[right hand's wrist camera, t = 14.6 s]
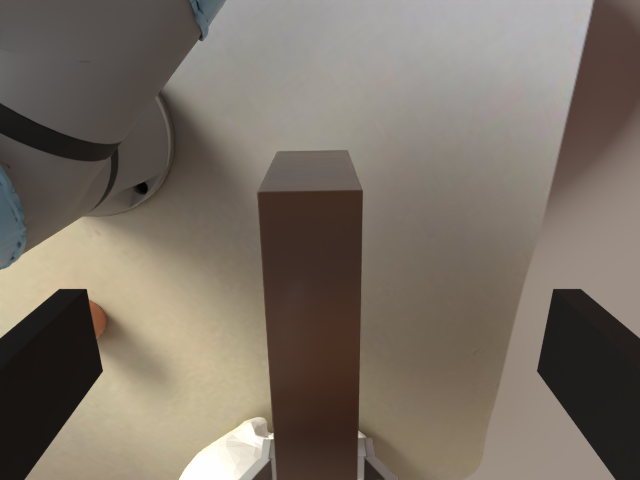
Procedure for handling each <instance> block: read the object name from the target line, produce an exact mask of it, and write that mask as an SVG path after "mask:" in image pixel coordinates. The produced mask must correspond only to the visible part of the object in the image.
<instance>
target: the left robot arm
mask: <svg viewBox="0 0 640 480" xmlns="http://www.w3.org/2000/svg"><path fill="white" fill-rule="evenodd" d="M358 479H361V480H399V479H398V478H397V477H396V476H395V475H394V474H393V473H392V472H391V471H390V470H389V469H388V467H387V466H386V465H385V464H384V463H383V462H382V461H381V460H380V459H379V458H378V457H375V452H374V445H373V439H372V437H370V438H358ZM239 480H276V467H275V452H274V439H264V440H263V444H262V450H261V457H260V459H258V460H257V461H256V462H255V463H254V464H253V465H252V466H251V467H250V468H249V469H248V470H247V471H246V472H245V473H244V474H243V475H242V476H241V478H240V479H239Z"/></svg>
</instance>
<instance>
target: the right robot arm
mask: <svg viewBox="0 0 640 480" xmlns="http://www.w3.org/2000/svg"><path fill="white" fill-rule="evenodd" d="M225 1H226V0H0V270H1V269H4V268H7V267H9V266H10V265H11V264H12V263H13V262H15V261H16V260H18V259H19V257H20V256H21V255H22V254H24V253H25V252H27V251H28V250H30V249H32V248H33V247H35V246H36V245H38V244H39V243H41V242H43V241H44V240H46V239H47V238H49V237H51V236H52V235H54V234H55V233H57V232H59V231H60V230H62V229H63V228H65V227H66V226H68V225H70V224H71V223H73V222H74V221H76V220H78V219H79V218H81V217H82V216H110V215H116V214H120V213H123V212H126V211H128V210H131V209H133V208H135V207H136V206H138V205H139V204H141V203H142V202H144V201H145V200H146V199H148V198H149V197H150V196H151V195H153V194H154V193H155V192H156V191H157V190H158V189H159V187H160V186H161V185H162V183H163V182H164V180H165V179H166V177H167V175H168V173H169V170H170V168H171V165H172V161H173V156H174V148H175V139H174V130H173V124H172V120H171V117H170V114H169V111H168V108H167V106H166V104H165V102H164V100H163V98H162V97H161V95H160V93H159V92H160V91H161V89H162V88H163V87H164V85H165V84H166V83H167V81H168V80H169V78H170V77H171V76H172V74H173V73H174V72H175V70H176V69H177V68H178V66H179V65H180V64H181V62H182V61H183V60H184V58H185V57H186V56H187V54H188V53H189V52H190V50H191V49H192V48H193V46H194V45H195V44H196V42H197V41H198V40H200V41H203V40H204V39H205V38H206V36H207V34H208V26H209V25H210V23H211V22H212V20H213V19H214V18H215V16H216V15H217V13H218V12H219V10H220V9H221V7H222V6H223V4H224V3H225ZM102 372H103V369H102V364H101V359H100V354H99V349H98V344H97V339H96V334H95V329H94V324H93V319H92V314H91V309H90V304H89V299H88V294H87V289H59V290H58V291H56V292H55V293H54V294H53V295H52V296H50V297H49V298H48V299H47V300H46V301H44V302H43V303H42V304H41V305H40V306H38V307H37V308H36V309H35V310H34V311H33V312H31V313H30V314H29V315H28V316H27V317H25V318H24V319H23V320H22V321H21V322H19V323H18V324H17V325H16V326H15V327H13V328H12V329H11V330H10V331H9V332H7V333H6V334H5V335H4V336H3V337H1V338H0V480H24V479H25V478H26V477H27V475H28V474H29V473H30V471H31V470H32V468H33V467H34V466H35V464H36V463H37V461H38V460H39V459H40V457H41V456H42V455H43V453H44V452H45V450H46V449H47V448H48V446H49V445H50V444H51V442H52V441H53V439H54V438H55V437H56V435H57V434H58V432H59V431H60V430H61V428H62V427H63V426H64V424H65V423H66V421H67V420H68V419H69V417H70V416H71V415H72V413H73V412H74V410H75V409H76V408H77V406H78V405H79V403H80V402H81V401H82V399H83V398H84V397H85V395H86V394H87V392H88V391H89V390H90V388H91V387H92V386H93V384H94V383H95V381H96V380H97V379H98V377H99V376H100V374H101V373H102ZM537 372H538V373H539V374H540V376H541V377H542V379H543V380H544V381H545V383H546V384H547V386H548V387H549V388H550V390H551V391H552V392H553V394H554V395H555V397H556V398H557V399H558V401H559V402H560V403H561V405H562V406H563V408H564V409H565V410H566V412H567V413H568V415H569V416H570V417H571V419H572V420H573V421H574V423H575V424H576V425H577V427H578V428H579V430H580V431H581V432H582V434H583V435H584V437H585V438H586V439H587V441H588V442H589V444H590V445H591V446H592V448H593V449H594V450H595V452H596V453H597V455H598V456H599V457H600V459H601V460H602V461H603V463H604V464H605V466H606V467H607V468H608V470H609V471H610V473H611V474H612V475H613V477H614V478H615V479H616V480H640V338H639V337H637V336H636V335H635V334H634V333H632V332H631V331H630V330H629V329H628V328H627V327H625V326H624V325H623V324H622V323H621V322H619V321H618V320H617V319H616V318H615V317H613V316H612V315H611V314H610V313H609V312H607V311H606V310H605V309H604V308H603V307H601V306H600V305H599V304H598V303H597V302H595V301H594V300H593V299H592V298H591V297H590V296H588V295H587V294H586V293H585V292H584V291H582V290H581V289H553V294H552V299H551V304H550V309H549V314H548V319H547V324H546V329H545V334H544V339H543V344H542V349H541V354H540V359H539V364H538V369H537Z"/></svg>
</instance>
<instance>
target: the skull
mask: <svg viewBox="0 0 640 480" xmlns="http://www.w3.org/2000/svg"><path fill="white" fill-rule="evenodd" d="M358 438H366V436H365V435H364V434H362V433H361V432H360V431H359V430H358ZM264 439H274V437H273V433H269V432H268V430H267V421H266V420H265V419H264V418H260V417H256V418H253V419H250V420H246V421H245V422H243V423H242V424H241V425H240V426H239V427H237V428H236V429H234V430H233V431H231V432H229V433H227V434H226V435H224V436H223V437H221V438H220V439H218V440H217V441H215V442H213V443H212V444H210V445H209V446H207V447H206V448H204V449H203V450H202V451H201V452H199V453H198V454H197V455H196V456H195V457H194V459H193V460H192V461H191V462H190V464H189V465H188V466H187V467H186V468H185V470H184V472H183V473H182V475H181V477H180V479H179V480H239V479H240V478H241V476H242V475H243V474H244V473H245V472H246V471H247V470H248V469H249V468H250V467H251V466H252V465H253V464H254V463H255V462H256V461H257V460H258V459H260V457H261V450H262V444H263V440H264ZM358 480H361V479H358Z"/></svg>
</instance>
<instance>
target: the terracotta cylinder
mask: <svg viewBox="0 0 640 480" xmlns="http://www.w3.org/2000/svg"><path fill="white" fill-rule="evenodd" d="M89 304H90V309H91V314H92V319H93V324H94V329H95V334H96V339H98V338H99V336H100V335H101V334H102V333H103V332H104V330H105V328H106V324H107V321H106V316H105V314H104V312H103V310H102V309H101V308H100V307H99V306H98V305H97V304H95V303H93V302H91V301H89Z"/></svg>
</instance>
